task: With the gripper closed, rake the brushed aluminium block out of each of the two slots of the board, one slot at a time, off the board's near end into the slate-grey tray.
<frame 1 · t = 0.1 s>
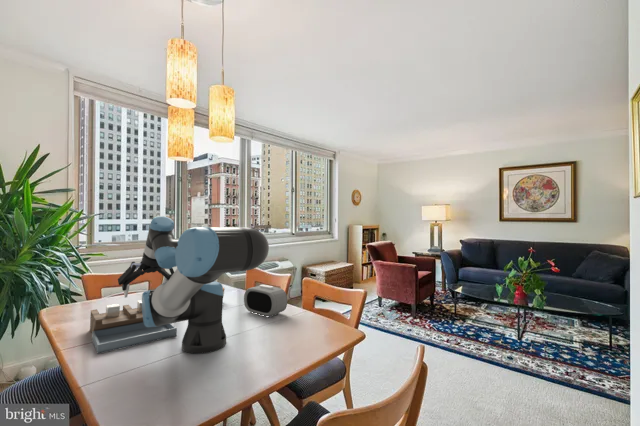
hand: (144, 292, 123), 15 cm above the table, tool tilted 35°, fingers open, 13 cm apart
lidded jar: (213, 303, 164), on the table
slot board: (128, 328, 124), on the table
alarm clock: (264, 313, 148), on the table
tray: (135, 337, 115), on the table
left block: (112, 315, 121), point 6 cm above the table, touching slot board
right block: (143, 310, 129), point 6 cm above the table, touching slot board
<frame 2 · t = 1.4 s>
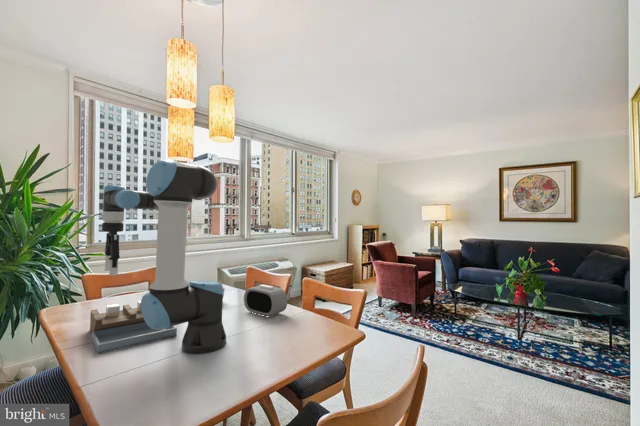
hand: (110, 272, 128), 22 cm above the table, tool pointing down, fingers open, 12 cm apart
nothing on the table moved.
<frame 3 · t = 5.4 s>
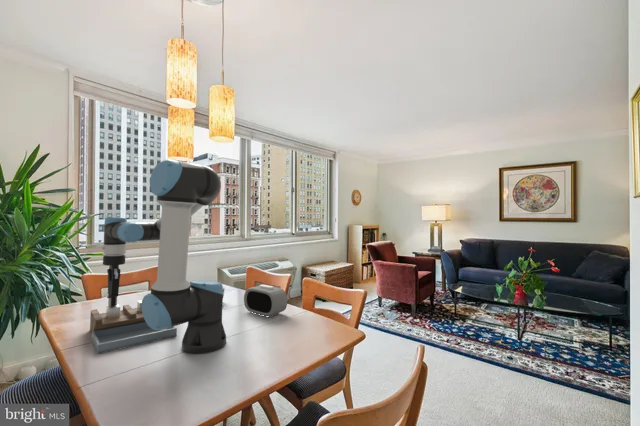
hand: (112, 313, 122), 7 cm above the table, tool pointing down, fingers closed
left block: (113, 316, 120), point 6 cm above the table, touching gripper, slot board
everything else where it was.
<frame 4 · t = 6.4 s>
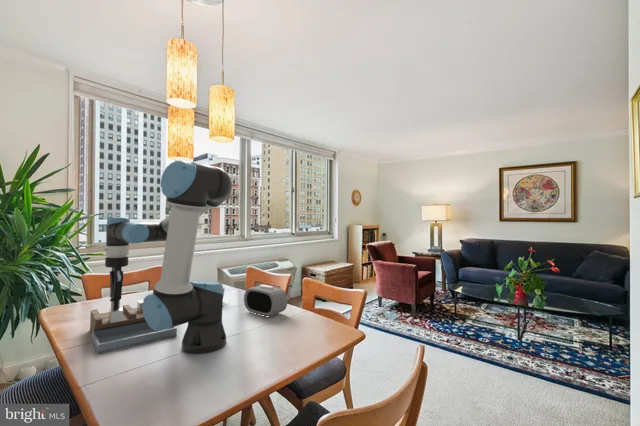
hand: (114, 316, 118), 7 cm above the table, tool pointing down, fingers closed
left block: (115, 320, 116), point 6 cm above the table, touching gripper
everything else where it was.
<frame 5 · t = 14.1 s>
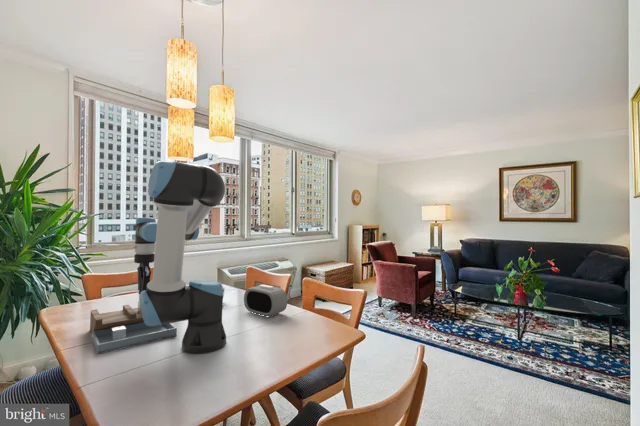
hand: (142, 308, 130), 7 cm above the table, tool pointing down, fingers closed
left block: (117, 332, 113), point 3 cm above the table, tilted 90°, touching tray
right block: (144, 311, 128), point 6 cm above the table, touching gripper, slot board
everything else where it was.
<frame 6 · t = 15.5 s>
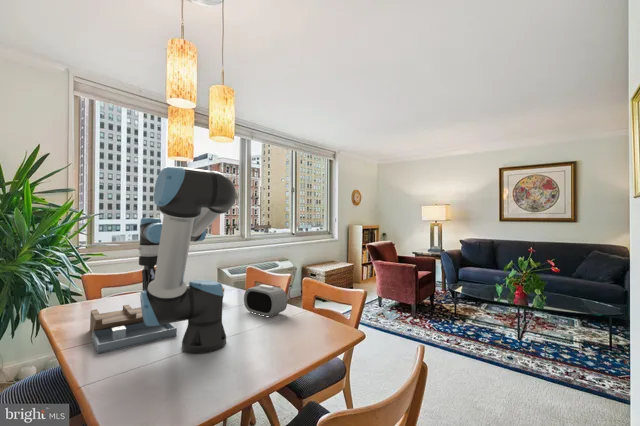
hand: (147, 312, 124), 7 cm above the table, tool pointing down, fingers closed
right block: (149, 316, 122), point 6 cm above the table, touching gripper, slot board
everything else where it was.
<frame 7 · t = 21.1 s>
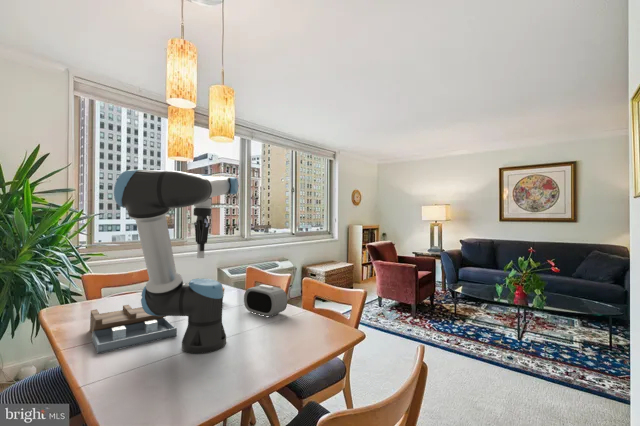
hand: (200, 257, 141), 27 cm above the table, tool pointing down, fingers closed
right block: (149, 325, 121), point 3 cm above the table, tilted 90°, touching tray
everything else where it was.
at the end: left block inside the target area (6.1 cm from its centre), point 2.6 cm above the table; right block inside the target area (6.4 cm from its centre), point 2.6 cm above the table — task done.
